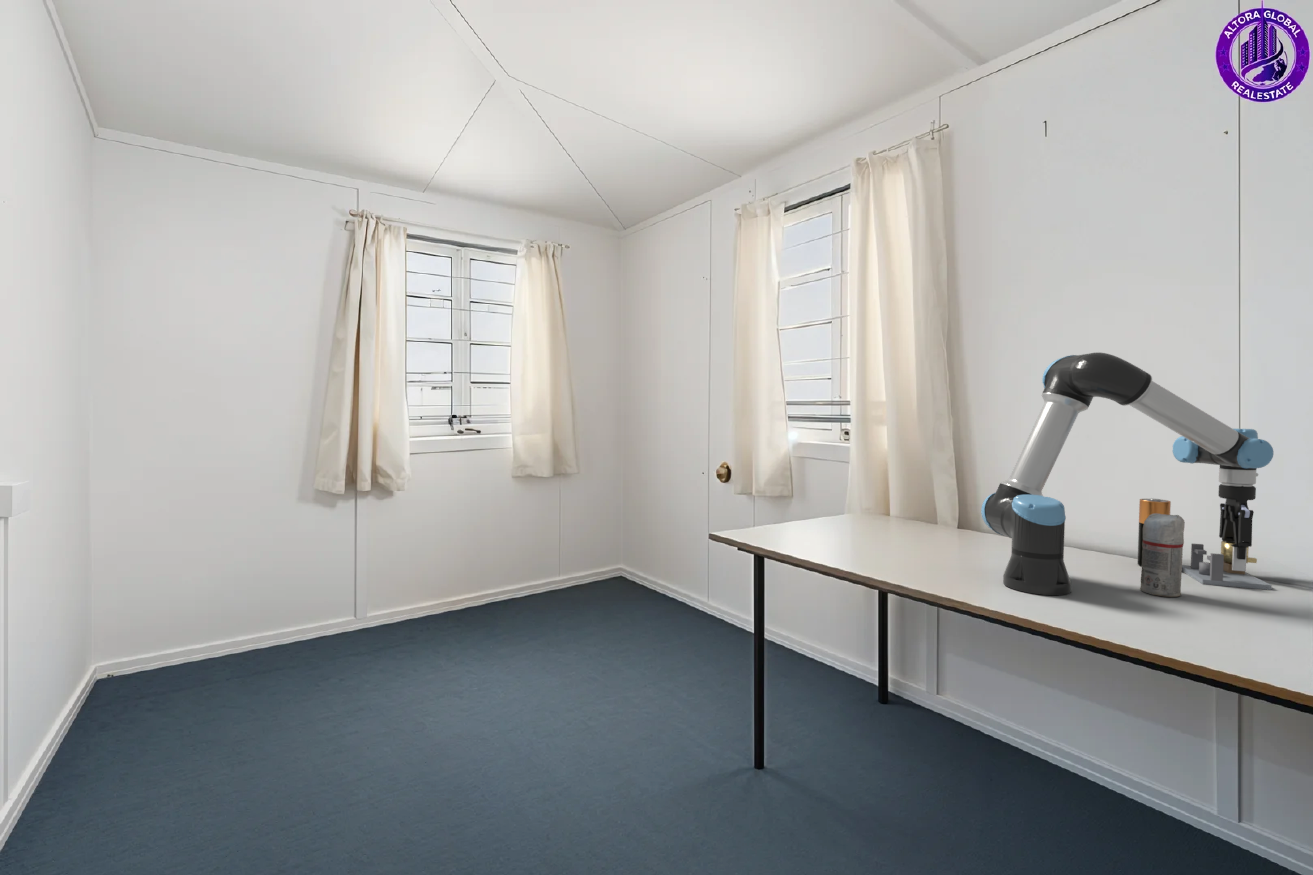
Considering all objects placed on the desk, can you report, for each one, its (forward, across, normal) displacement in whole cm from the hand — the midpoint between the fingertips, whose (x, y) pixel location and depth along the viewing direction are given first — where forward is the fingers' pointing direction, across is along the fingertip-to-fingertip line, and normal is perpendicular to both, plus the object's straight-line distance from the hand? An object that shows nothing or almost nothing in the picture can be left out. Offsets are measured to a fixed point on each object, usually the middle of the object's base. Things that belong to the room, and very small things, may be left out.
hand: (1233, 567), depth 174 cm
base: (+2, -4, +4) cm, 6 cm away
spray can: (+3, -28, +24) cm, 37 cm away
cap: (-2, 0, 0) cm, 2 cm away
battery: (+3, +4, +17) cm, 18 cm away
